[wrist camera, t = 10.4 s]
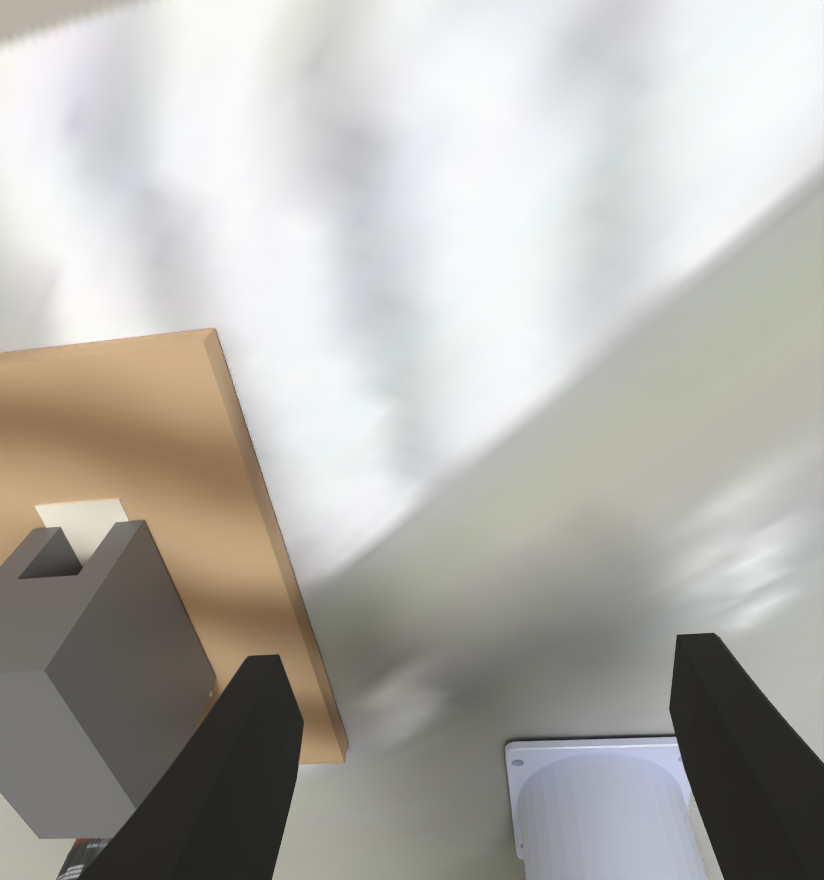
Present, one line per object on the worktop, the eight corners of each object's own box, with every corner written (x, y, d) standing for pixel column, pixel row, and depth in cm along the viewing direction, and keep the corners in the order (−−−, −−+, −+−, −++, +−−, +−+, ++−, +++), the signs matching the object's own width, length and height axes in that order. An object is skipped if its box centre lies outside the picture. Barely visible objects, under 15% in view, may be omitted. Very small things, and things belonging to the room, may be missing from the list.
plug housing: (215, 677, 25) (154, 837, 20) (121, 681, 26) (39, 838, 21) (143, 520, 21) (44, 670, 16) (33, 528, 22) (-97, 677, 17)
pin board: (347, 741, 29) (337, 809, 26) (102, 749, 30) (69, 813, 28) (214, 327, 19) (176, 372, 16) (-148, 370, 20) (-235, 417, 18)
